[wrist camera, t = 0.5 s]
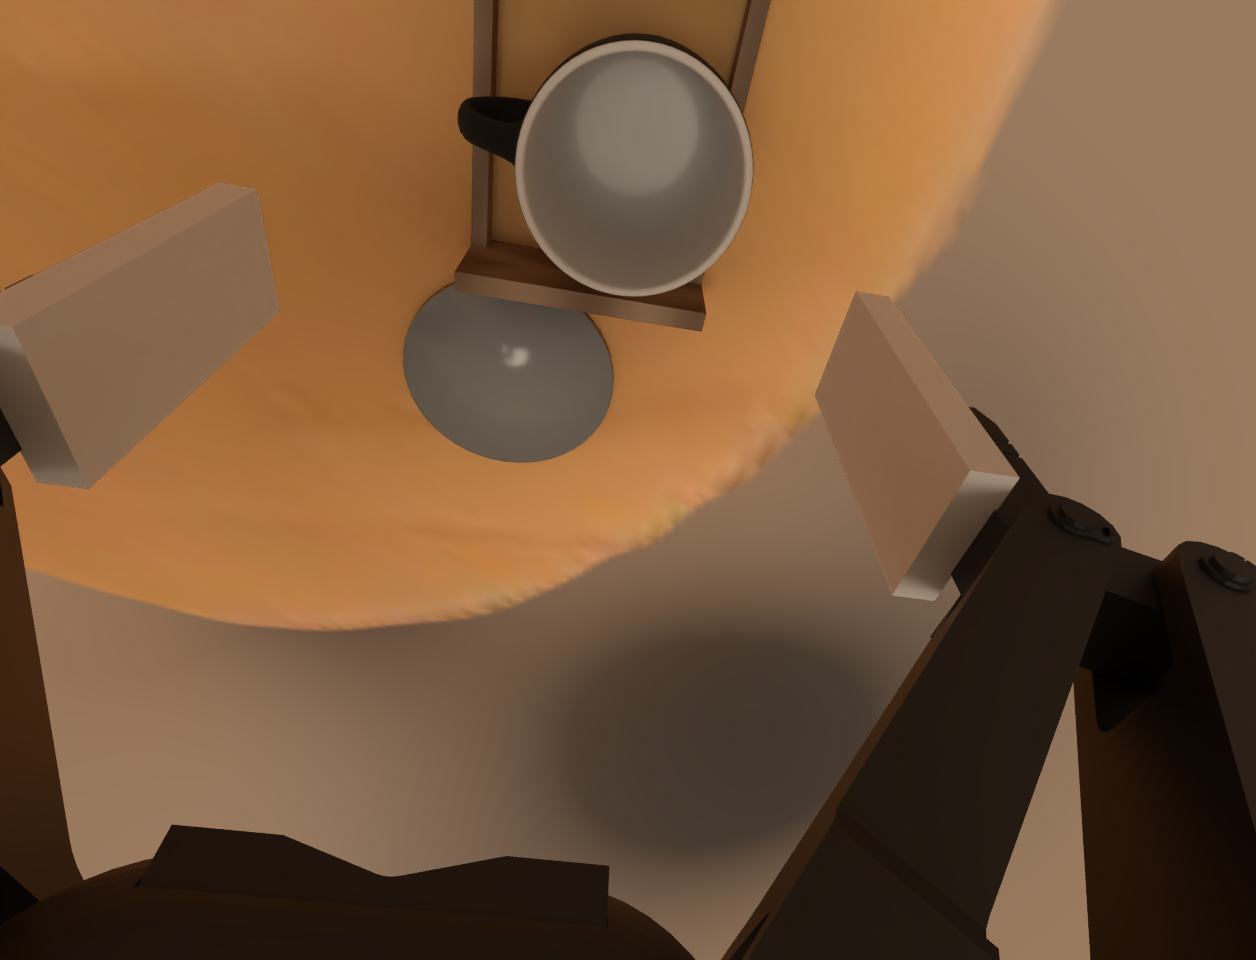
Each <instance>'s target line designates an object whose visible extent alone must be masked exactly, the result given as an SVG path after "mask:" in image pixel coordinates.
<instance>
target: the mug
mask: <svg viewBox="0 0 1256 960" xmlns="http://www.w3.org/2000/svg"><path fill="white" fill-rule="evenodd" d="M458 125H459V129H460V132H461V133H462V135H463V136H464V138H465V139H466V140H467V141H468V142H470V143H471V144H473V145H475V146H477V147H479V148H481V149H483V150H485V151H488V152H490V153H493V154H495V155H497V156H500V157H502V158H504V159H506V160H507V161H509V162H511V163H512V164H513V165H514V166H515V179H516V188H517V194H518V199H519V203H520V207H521V210H522V213H523V216H524V218H525V221H526V223H527V225H528V228H529V230H530V231H531V233H532V235H533V237H534V239H535V240H536V242H537V243H538V245H539V246H540V248H541V249H542V250H543V251H544V253H545V254H546V255H547V256H548V257H549V258H550V260H551V261H552V262H553V263H554V264H555V265H556V266H558V267H559V268H560V269H561V270H562V271H563V272H565V273H566V274H567V275H569V276H570V277H572V278H573V279H575V280H577V281H578V282H580V283H582V284H584V285H586V286H588V287H590V288H593V289H595V290H598V291H601V292H605V293H609V294H613V295H619V296H631V297H634V296H648V295H655V294H659V293H664V292H667V291H670V290H673V289H675V288H678V287H680V286H682V285H684V284H686V283H688V282H690V281H692V280H693V279H695V278H696V277H698V276H699V275H701V274H702V273H703V272H705V271H706V270H707V269H708V268H710V267H711V266H712V265H713V264H714V263H715V262H716V261H717V260H718V259H719V258H720V256H721V255H722V254H723V253H724V252H725V250H726V249H727V248H728V246H729V245H730V243H731V242H732V240H733V239H734V237H735V235H736V234H737V232H738V230H739V228H740V226H741V223H742V221H743V219H744V216H745V213H746V210H747V207H748V203H749V199H750V195H751V189H752V182H753V153H752V144H751V139H750V135H749V131H748V127H747V124H746V121H745V118H744V116H743V113H742V111H741V109H740V106H739V104H738V102H737V100H736V99H735V97H734V95H733V93H732V92H731V90H730V89H729V87H728V86H727V84H726V83H725V81H724V80H723V79H722V78H721V77H720V75H719V74H718V73H717V72H716V71H715V70H714V69H713V68H712V67H711V66H710V65H709V64H708V63H707V62H706V61H705V60H704V59H702V58H701V57H700V56H698V55H697V54H696V53H694V52H693V51H691V50H690V49H688V48H686V47H685V46H683V45H681V44H679V43H676V42H674V41H672V40H669V39H666V38H663V37H660V36H655V35H649V34H638V33H635V34H622V35H616V36H611V37H608V38H604V39H601V40H599V41H596V42H594V43H592V44H589V45H588V46H586V47H584V48H582V49H580V50H579V51H577V52H576V53H574V54H573V55H571V56H570V57H569V58H567V59H566V60H565V61H564V62H563V63H561V64H560V65H559V66H558V67H557V68H556V69H555V70H554V71H553V72H552V73H551V74H550V76H549V77H548V78H547V79H546V80H545V81H544V83H543V84H542V86H541V87H540V88H539V90H538V91H537V93H536V95H535V96H534V98H533V100H532V101H529V100H522V99H515V98H507V97H494V96H481V97H472V98H468V99H466V100H465V101H464V102H463V103H462V104H461V106H460V108H459V111H458Z"/></svg>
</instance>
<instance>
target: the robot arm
mask: <svg viewBox="0 0 1256 960" xmlns="http://www.w3.org/2000/svg"><path fill="white" fill-rule="evenodd" d="M279 312H280V308H279V303H278V298H277V292H276V287H275V282H274V276H273V271H272V266H271V261H270V255H269V250H268V245H267V239H266V234H265V229H264V224H263V218H262V213H261V208H260V202H259V197H258V192H257V189H254V188H248V187H242V186H237V185H231V184H225V183H217V184H215V185H213V186H211V187H209V188H207V189H205V190H203V191H201V192H199V193H197V194H195V195H193V196H191V197H189V198H187V199H185V200H183V201H181V202H179V203H177V204H175V205H173V206H171V207H169V208H167V209H165V210H163V211H161V212H159V213H157V214H155V215H153V216H151V217H149V218H147V219H145V220H143V221H141V222H139V223H137V224H135V225H133V226H131V227H129V228H127V229H125V230H123V231H121V232H119V233H117V234H115V235H113V236H111V237H109V238H107V239H105V240H103V241H101V242H99V243H97V244H95V245H93V246H91V247H89V248H87V249H85V250H83V251H81V252H79V253H77V254H75V255H73V256H71V257H69V258H67V259H65V260H63V261H61V262H59V263H57V264H55V265H53V266H51V267H49V268H47V269H45V270H43V271H41V272H39V273H37V274H35V275H31V276H29V277H27V278H25V279H23V280H21V281H19V282H17V283H15V284H13V285H11V286H9V287H7V288H5V290H3V291H0V466H1V465H3V464H4V463H5V462H7V461H8V460H9V459H11V458H12V457H13V456H14V455H16V454H17V453H18V452H21V453H22V455H23V457H24V459H25V461H26V463H27V465H28V466H29V468H30V470H31V472H32V474H33V476H34V478H35V480H36V481H37V482H39V483H47V484H54V485H62V486H69V487H77V488H85V489H89V488H91V487H92V486H93V485H94V484H95V483H96V482H97V481H98V480H99V479H100V478H101V477H102V476H103V475H105V474H106V473H107V472H108V471H109V470H110V469H111V468H112V467H113V466H114V465H115V464H116V463H117V462H119V461H120V460H121V459H122V458H123V457H124V456H125V455H126V454H127V453H128V452H129V451H130V450H131V449H132V448H134V447H135V446H136V445H137V444H138V443H139V442H140V441H141V440H142V439H143V438H144V437H145V436H146V435H148V434H149V433H150V432H151V431H152V430H153V429H154V428H155V427H156V426H157V425H158V424H159V423H160V422H162V421H163V420H164V419H165V418H166V417H167V416H168V415H169V414H170V413H171V412H172V411H173V410H174V409H176V408H177V407H178V406H179V405H180V404H181V403H182V402H183V401H184V400H185V399H186V398H187V397H188V396H189V395H191V394H192V393H193V392H194V391H195V390H196V389H197V388H198V387H199V386H200V385H201V384H202V383H203V382H205V381H206V380H207V379H208V378H209V377H210V376H211V375H212V374H213V373H214V372H215V371H216V370H217V369H219V368H220V367H221V366H222V365H223V364H224V363H225V362H226V361H227V360H228V359H229V358H230V357H231V356H232V355H234V354H235V353H236V352H237V351H238V350H239V349H240V348H241V347H242V346H243V345H244V344H245V343H246V342H248V341H249V340H250V339H251V338H252V337H253V336H254V335H255V334H256V333H257V332H258V331H259V330H260V329H262V328H263V327H264V326H265V325H266V324H267V323H268V322H269V321H270V320H271V319H272V318H273V317H274V316H275V315H277V314H278V313H279ZM815 397H816V399H817V402H818V405H819V407H820V410H821V412H822V415H823V417H824V420H825V422H826V425H827V428H828V430H829V433H830V436H831V438H832V441H833V443H834V446H835V449H836V451H837V454H838V456H839V459H840V461H841V464H842V467H843V469H844V472H845V474H846V477H847V480H848V482H849V485H850V487H851V490H852V492H853V495H854V497H855V500H856V503H857V505H858V508H859V511H860V513H861V516H862V518H863V521H864V524H865V526H866V529H867V531H868V534H869V536H870V539H871V542H872V544H873V547H874V550H875V552H876V555H877V557H878V560H879V562H880V565H881V567H882V570H883V573H884V575H885V578H886V580H887V583H888V586H889V588H890V591H891V594H892V595H894V596H901V597H909V598H916V599H924V600H932V601H935V599H936V598H937V596H938V595H939V594H940V592H941V591H942V589H943V588H944V586H945V585H946V584H947V582H948V581H949V579H950V578H951V576H952V577H953V580H954V582H955V584H956V586H957V587H958V590H959V591H960V594H961V595H960V597H959V598H958V599H957V601H956V602H955V603H954V605H953V606H952V607H951V609H950V610H949V612H948V613H947V614H946V616H945V617H944V619H943V620H942V621H941V623H940V624H939V625H938V627H937V628H936V629H935V631H934V632H933V634H932V635H931V640H930V641H929V643H928V644H927V646H926V647H925V649H924V650H923V652H922V654H921V655H920V657H919V658H918V660H917V661H916V663H915V665H914V666H913V668H912V669H911V671H910V672H909V674H908V675H907V677H906V678H905V680H904V681H903V683H902V685H901V686H900V688H899V689H898V691H897V692H896V694H895V695H894V697H893V698H892V700H891V701H890V703H889V704H888V706H887V708H886V709H885V711H884V712H883V714H882V715H881V717H880V718H879V720H878V721H877V723H876V725H875V726H874V728H873V729H872V731H871V732H870V734H869V736H868V737H867V739H866V740H865V742H864V743H863V745H862V746H861V748H860V749H859V751H858V752H857V754H856V756H855V757H854V759H853V760H852V762H851V763H850V765H849V766H848V768H847V769H846V771H845V772H844V774H843V775H842V777H841V779H840V780H839V782H838V783H837V785H836V786H835V788H834V789H833V791H832V793H831V794H830V796H829V797H828V799H827V800H826V802H825V803H824V805H823V806H822V808H821V810H820V811H819V813H818V814H817V816H816V817H815V819H814V820H813V822H812V823H811V825H810V826H809V828H808V830H807V831H806V833H805V834H804V836H803V837H802V839H801V840H800V842H799V844H798V845H797V846H796V848H795V850H794V851H793V853H792V854H791V856H790V857H789V859H788V860H787V862H786V863H785V865H784V867H783V868H782V870H781V871H780V873H779V874H778V876H777V877H776V879H775V881H774V882H773V884H772V885H771V887H770V888H769V890H768V891H767V893H766V894H765V896H764V897H763V899H762V900H761V902H760V904H759V905H758V907H757V908H756V910H755V911H754V913H753V914H752V916H751V917H750V919H749V920H748V922H747V923H746V924H745V926H744V927H743V929H742V930H741V932H740V933H739V934H738V936H737V937H736V939H735V940H734V942H733V943H732V944H731V946H730V947H729V949H728V950H727V952H726V953H725V955H724V956H723V958H722V959H721V960H1000V959H999V949H998V948H997V947H996V946H995V945H994V944H992V943H991V942H990V941H989V940H988V939H987V938H986V927H987V924H988V920H989V916H990V913H991V910H992V908H993V905H994V902H995V899H996V896H997V893H998V890H999V888H1000V885H1001V882H1002V880H1003V877H1004V874H1005V871H1006V868H1007V865H1008V863H1009V860H1010V857H1011V854H1012V851H1013V849H1014V846H1015V843H1016V840H1017V838H1018V835H1019V832H1020V829H1021V826H1022V824H1023V821H1024V818H1025V815H1026V812H1027V810H1028V807H1029V804H1030V801H1031V798H1032V796H1033V793H1034V790H1035V787H1036V784H1037V782H1038V779H1039V776H1040V773H1041V770H1042V767H1043V765H1044V762H1045V759H1046V756H1047V754H1048V751H1049V748H1050V745H1051V742H1052V739H1053V737H1054V734H1055V731H1056V728H1057V726H1058V723H1059V720H1060V717H1061V714H1062V712H1063V709H1064V706H1065V703H1066V700H1067V698H1068V695H1069V692H1070V689H1071V686H1072V683H1074V699H1075V715H1076V732H1077V747H1078V764H1079V780H1080V797H1081V812H1082V829H1083V846H1084V861H1085V877H1086V894H1087V911H1088V927H1089V943H1090V959H1091V960H1256V566H1255V565H1254V564H1252V563H1251V562H1249V561H1244V559H1245V558H1242V557H1241V556H1239V555H1237V554H1235V553H1233V552H1227V551H1225V550H1223V549H1221V548H1219V547H1216V546H1213V545H1209V544H1206V543H1202V542H1193V541H1185V542H1183V543H1182V544H1179V545H1178V546H1177V547H1176V548H1175V549H1174V550H1173V551H1172V552H1171V553H1170V554H1169V555H1168V556H1167V557H1166V558H1165V559H1164V560H1163V561H1160V560H1157V559H1154V558H1151V557H1149V556H1146V555H1143V554H1140V553H1137V552H1134V551H1131V550H1128V549H1125V548H1122V547H1121V537H1120V535H1119V534H1118V533H1117V531H1116V530H1115V528H1114V527H1113V525H1111V524H1110V523H1109V522H1108V521H1107V520H1105V519H1104V518H1103V517H1102V516H1101V515H1100V514H1098V513H1096V512H1095V511H1093V510H1092V509H1090V508H1088V507H1086V506H1085V505H1083V504H1081V503H1079V502H1076V501H1074V500H1071V499H1069V498H1066V497H1062V496H1058V495H1053V494H1049V493H1048V492H1047V491H1046V489H1045V488H1044V487H1043V485H1042V484H1041V483H1040V481H1039V480H1038V479H1037V477H1036V476H1035V475H1034V473H1033V472H1032V471H1031V469H1030V468H1029V467H1028V466H1027V464H1026V463H1025V462H1024V460H1023V459H1022V458H1019V454H1018V452H1017V451H1016V450H1015V448H1014V447H1013V446H1012V445H1011V444H1008V442H1009V441H1008V439H1007V438H1006V437H1005V435H1004V434H1003V433H1002V431H1001V430H1000V429H999V427H998V426H997V425H996V424H995V423H994V422H993V421H991V420H990V419H989V418H987V417H986V416H985V415H983V414H982V413H981V412H980V411H978V410H977V409H976V408H972V407H968V406H967V404H966V403H965V402H964V401H963V399H962V397H961V396H960V395H959V393H958V392H957V391H956V389H955V388H954V386H953V385H952V384H951V382H950V381H949V380H948V378H947V377H946V376H945V374H944V373H943V371H942V370H941V369H940V367H939V366H938V364H937V363H936V362H935V360H934V359H933V358H932V356H931V355H930V353H929V352H928V351H927V349H926V348H925V346H924V345H923V344H922V342H921V341H920V340H919V338H918V337H917V335H916V334H915V333H914V331H913V330H912V329H911V327H910V326H909V325H908V323H907V322H906V320H905V319H904V317H903V316H902V315H901V314H900V312H899V311H898V309H897V308H896V307H895V305H894V304H893V302H892V301H891V300H890V298H889V297H888V296H882V295H876V294H870V293H865V292H859V291H856V292H855V295H854V297H853V300H852V302H851V305H850V307H849V310H848V312H847V315H846V317H845V320H844V322H843V325H842V327H841V330H840V333H839V335H838V338H837V340H836V343H835V345H834V348H833V350H832V353H831V355H830V358H829V360H828V363H827V365H826V368H825V370H824V373H823V375H822V378H821V380H820V383H819V385H818V388H817V390H816V393H815ZM608 882H609V866H605V865H595V864H585V863H574V862H563V861H553V860H542V859H532V858H521V857H510V856H505V857H499V858H494V859H488V860H483V861H477V862H472V863H467V864H462V865H456V866H451V867H445V868H440V869H434V870H429V871H424V872H418V873H413V874H408V875H402V876H395V877H387V876H381V875H378V874H375V873H373V872H371V871H368V870H366V869H363V868H361V867H359V866H356V865H353V864H351V863H349V862H347V861H344V860H342V859H339V858H337V857H335V856H332V855H330V854H327V853H325V852H323V851H320V850H318V849H315V848H313V847H310V846H308V845H306V844H303V843H301V842H299V841H296V840H294V839H291V838H289V837H286V836H284V835H276V834H266V833H255V832H245V831H234V830H224V829H213V828H203V827H191V826H181V825H171V827H170V829H169V831H168V833H167V834H166V836H165V838H164V840H163V842H162V843H161V845H160V847H159V849H158V851H157V852H156V854H155V856H154V858H153V859H147V860H143V861H140V862H136V863H133V864H129V865H126V866H122V867H119V868H115V869H112V870H109V871H107V872H104V873H102V874H99V875H96V876H94V877H91V878H89V879H86V880H83V878H82V876H81V874H80V872H79V870H78V867H77V865H76V862H75V859H74V856H73V853H72V849H71V844H70V839H69V833H68V828H67V821H66V815H65V810H64V804H63V797H62V791H61V785H60V779H59V773H58V766H57V760H56V754H55V748H54V742H53V736H52V730H51V724H50V718H49V712H48V706H47V700H46V694H45V688H44V682H43V676H42V670H41V664H40V657H39V652H38V645H37V639H36V633H35V628H34V621H33V615H32V609H31V603H30V597H29V591H28V585H27V579H26V573H25V567H24V561H23V555H22V548H21V542H20V536H19V530H18V524H17V518H16V512H15V506H14V500H13V494H12V488H11V485H10V483H9V481H8V479H7V478H6V476H5V474H4V472H3V471H2V469H1V467H0V960H695V959H694V957H693V956H692V955H691V954H690V953H689V952H688V951H687V950H686V949H685V948H684V947H683V946H682V945H681V944H680V943H679V942H678V941H677V940H676V939H675V938H674V937H673V936H672V935H671V934H670V933H669V932H668V931H667V930H665V929H664V928H663V927H661V926H660V925H659V924H658V923H656V922H655V921H654V920H652V919H651V918H650V917H649V916H647V915H645V914H644V913H642V912H640V911H639V910H637V909H635V908H634V907H632V906H630V905H629V904H627V903H625V902H623V901H621V900H618V899H616V898H614V897H611V896H609V895H608Z"/></svg>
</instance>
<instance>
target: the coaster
mask: <svg viewBox="0 0 1256 960" xmlns="http://www.w3.org/2000/svg"><path fill="white" fill-rule="evenodd" d="M403 365H404V373H405V378H406V381H407V385H408V388H409V390H410V393H411V395H412V397H413V399H414V401H415V403H416V404H417V406H418V408H419V410H420V411H421V412H422V413H423V415H424V416H425V417H426V419H427V420H428V421H429V422H430V423H431V424H432V425H433V426H434V427H435V428H436V429H437V430H438V431H439V432H440V433H442V434H443V435H444V436H445V437H446V438H448V439H449V440H451V441H452V442H454V443H455V444H457V445H459V446H461V447H462V448H464V449H466V450H468V451H470V452H473V453H475V454H478V455H480V456H484V457H487V458H490V459H494V460H499V461H505V462H516V463H525V462H537V461H543V460H547V459H552V458H555V457H557V456H560V455H563V454H565V453H567V452H569V451H571V450H573V449H575V448H576V447H578V446H579V445H580V444H582V443H583V442H584V441H586V440H587V439H588V438H589V437H590V436H591V435H592V434H593V433H594V432H595V430H596V429H597V428H598V427H599V425H600V424H601V422H602V420H603V419H604V417H605V415H606V412H607V410H608V407H609V404H610V400H611V396H612V387H613V367H612V362H611V357H610V353H609V350H608V348H607V345H606V342H605V340H604V338H603V336H602V334H601V333H600V331H599V329H598V328H597V326H596V325H595V323H594V322H593V321H592V319H591V318H590V317H589V316H588V315H587V314H586V313H585V312H579V311H573V310H567V309H561V308H555V307H549V306H543V305H537V304H531V303H525V302H519V301H513V300H507V299H500V298H494V297H488V296H482V295H476V294H470V293H464V292H458V291H455V283H453V284H451V285H449V286H446V287H445V288H443V289H442V290H440V291H439V292H437V293H436V294H435V295H434V296H433V297H431V298H430V299H429V300H428V301H427V302H426V303H425V304H424V306H423V307H422V308H421V310H420V311H419V312H418V314H417V315H416V317H415V318H414V320H413V322H412V324H411V326H410V328H409V330H408V333H407V336H406V339H405V345H404V351H403Z"/></svg>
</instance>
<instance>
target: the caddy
mask: <svg viewBox="0 0 1256 960" xmlns="http://www.w3.org/2000/svg"><path fill="white" fill-rule="evenodd" d="M770 1H771V0H748V3H747V7H746V11H745V16H744V20H743V25H742V29H741V34H740V38H739V42H738V47H737V51H736V56H735V60H734V64H733V69H732V73H731V78H730V82H729V89H730V90H731V92H732V93H733V95H734V97H735V99H736V100H737V102H738V104H739V106H740V109H741V111H742V113H743V112H744V107H745V103H746V99H747V95H748V91H749V87H750V83H751V79H752V75H753V71H754V67H755V62H756V58H757V54H758V50H759V46H760V42H761V38H762V34H763V30H764V26H765V21H766V17H767V13H768V9H769V5H770ZM497 19H498V0H474V76H473V97H481V96H494V97H495V84H496V52H497ZM492 181H493V153H490V152H488V151H485V150H483V149H481V148H479V147H477V146H475V145H473V156H472V236H471V247H470V248H469V250H468V251H467V253H466V255H465V256H464V258H463V259H462V261H461V263H460V264H459V266H458V267H457V269H456V270H455V291H458V292H464V293H470V294H476V295H482V296H488V297H494V298H500V299H507V300H513V301H519V302H525V303H531V304H537V305H543V306H549V307H555V308H561V309H567V310H573V311H579V312H585V313H591V314H598V315H604V316H610V317H616V318H622V319H628V320H634V321H640V322H646V323H652V324H658V325H664V326H670V327H676V328H682V329H689V330H695V331H701V332H702V328H703V324H704V320H705V316H706V309H705V303H704V298H703V292H702V286H701V284H702V280H703V276H704V272H703V273H702V274H701V275H699V276H698V277H696V278H695V279H693V280H692V281H690V282H688V283H686V284H684V285H682V286H680V287H678V288H675V289H673V290H670V291H667V292H664V293H659V294H655V295H648V296H634V297H631V296H619V295H613V294H609V293H605V292H601V291H598V290H595V289H593V288H590V287H588V286H586V285H584V284H582V283H580V282H578V281H577V280H575V279H573V278H572V277H570V276H569V275H567V274H566V273H565V272H563V271H562V270H561V269H560V268H559V267H558V266H556V265H555V264H554V263H553V262H552V261H551V260H550V258H549V257H548V256H547V255H546V254H545V253H544V251H543V250H542V249H538V248H532V247H526V246H520V245H514V244H509V243H503V242H497V241H491V213H492Z"/></svg>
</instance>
